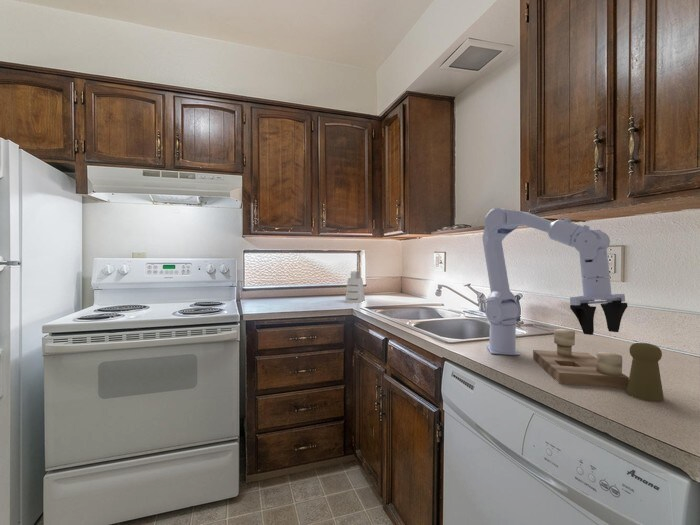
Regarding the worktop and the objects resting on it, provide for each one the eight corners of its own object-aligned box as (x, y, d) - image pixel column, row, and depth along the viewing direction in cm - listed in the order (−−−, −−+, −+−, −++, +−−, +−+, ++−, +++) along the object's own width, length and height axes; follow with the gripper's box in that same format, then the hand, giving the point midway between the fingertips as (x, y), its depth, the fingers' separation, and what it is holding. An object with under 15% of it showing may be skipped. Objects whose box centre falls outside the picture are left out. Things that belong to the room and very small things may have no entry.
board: (533, 358, 100) (533, 336, 100) (587, 361, 97) (587, 338, 97) (559, 383, 80) (559, 355, 80) (628, 388, 77) (628, 359, 77)
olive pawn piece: (626, 388, 77) (627, 339, 77) (663, 395, 74) (663, 343, 73) (626, 396, 73) (626, 344, 73) (665, 404, 69) (665, 349, 69)
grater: (344, 303, 220) (344, 271, 220) (349, 301, 230) (350, 271, 230) (360, 303, 217) (360, 271, 216) (365, 301, 227) (365, 271, 226)
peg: (551, 351, 98) (551, 328, 98) (570, 352, 97) (570, 329, 97) (557, 356, 93) (558, 332, 93) (577, 357, 92) (577, 333, 92)
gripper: (585, 278, 81) (591, 337, 80) (635, 275, 84) (641, 332, 83) (561, 279, 87) (566, 333, 86) (607, 276, 91) (613, 329, 90)
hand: (601, 333), depth 85 cm, fingers open, 7 cm apart
